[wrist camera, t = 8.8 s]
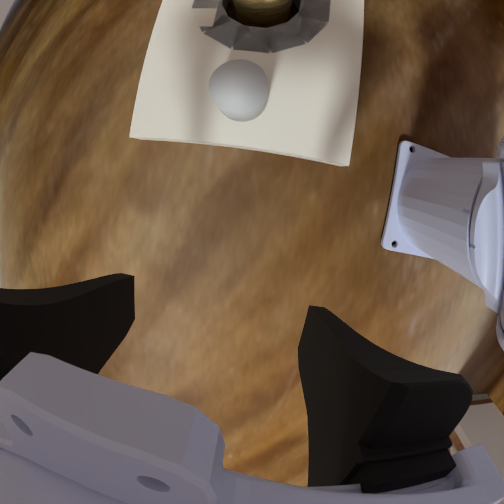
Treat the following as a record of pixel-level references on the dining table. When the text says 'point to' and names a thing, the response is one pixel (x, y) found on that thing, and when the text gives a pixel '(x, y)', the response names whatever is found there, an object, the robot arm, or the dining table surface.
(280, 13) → the brass cylinder
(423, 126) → the dining table surface
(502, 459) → the white stacked column
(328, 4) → the board
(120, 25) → the dining table surface
